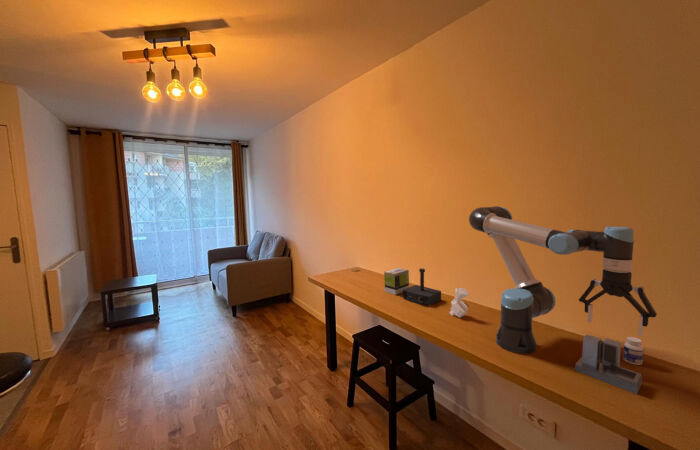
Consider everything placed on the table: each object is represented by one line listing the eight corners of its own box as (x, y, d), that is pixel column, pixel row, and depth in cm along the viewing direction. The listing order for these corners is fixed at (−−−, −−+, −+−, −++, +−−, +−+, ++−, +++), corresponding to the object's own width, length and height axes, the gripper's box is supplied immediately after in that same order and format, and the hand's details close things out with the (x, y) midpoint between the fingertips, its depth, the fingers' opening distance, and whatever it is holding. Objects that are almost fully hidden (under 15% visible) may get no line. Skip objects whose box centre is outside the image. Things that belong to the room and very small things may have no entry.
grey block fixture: (574, 370, 102) (576, 337, 101) (581, 363, 106) (583, 331, 105) (637, 394, 89) (639, 357, 88) (641, 384, 94) (644, 349, 93)
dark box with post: (400, 299, 178) (400, 269, 177) (416, 293, 190) (415, 264, 188) (427, 307, 164) (427, 274, 163) (441, 300, 175) (442, 269, 174)
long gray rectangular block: (616, 373, 100) (617, 347, 99) (601, 368, 103) (603, 342, 102) (619, 368, 103) (621, 342, 102) (604, 363, 106) (606, 338, 105)
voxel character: (449, 300, 161) (462, 283, 152) (463, 318, 153) (478, 301, 145) (440, 302, 157) (454, 286, 148) (454, 321, 150) (469, 304, 141)
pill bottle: (622, 356, 111) (623, 334, 110) (641, 360, 107) (642, 338, 106) (623, 362, 106) (625, 339, 106) (643, 367, 103) (645, 344, 102)
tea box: (398, 287, 204) (398, 267, 203) (409, 290, 196) (409, 269, 195) (384, 291, 194) (383, 271, 193) (395, 295, 187) (395, 273, 185)
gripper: (570, 265, 107) (568, 319, 109) (668, 279, 87) (663, 344, 89) (576, 262, 112) (574, 314, 114) (671, 275, 92) (666, 337, 94)
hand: (613, 327), depth 101 cm, fingers open, 13 cm apart
